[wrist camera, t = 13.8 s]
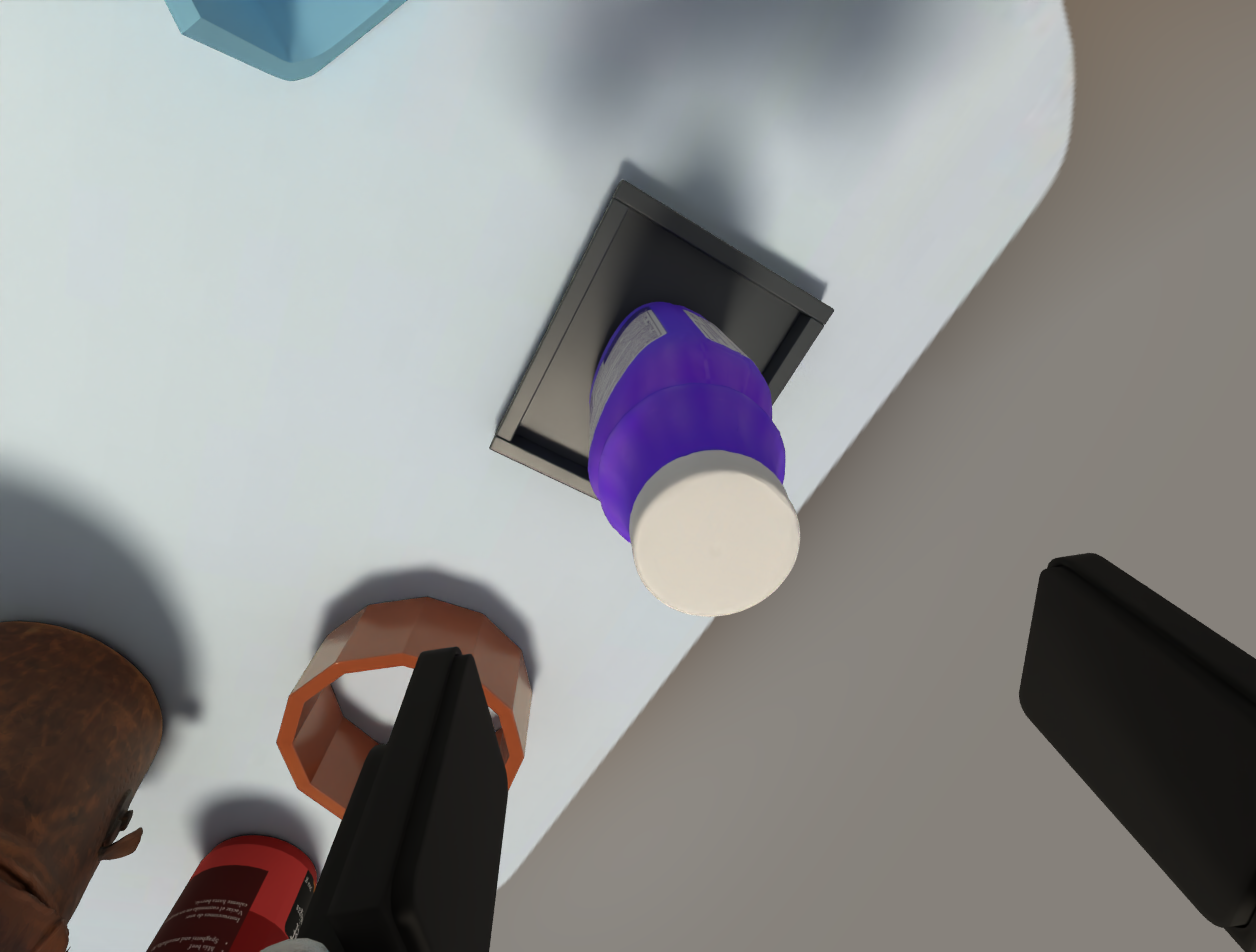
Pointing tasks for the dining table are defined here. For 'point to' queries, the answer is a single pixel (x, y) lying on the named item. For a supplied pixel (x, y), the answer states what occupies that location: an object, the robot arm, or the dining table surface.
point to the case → (64, 773)
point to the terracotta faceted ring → (381, 638)
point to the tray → (621, 282)
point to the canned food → (241, 898)
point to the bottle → (691, 462)
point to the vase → (280, 30)
